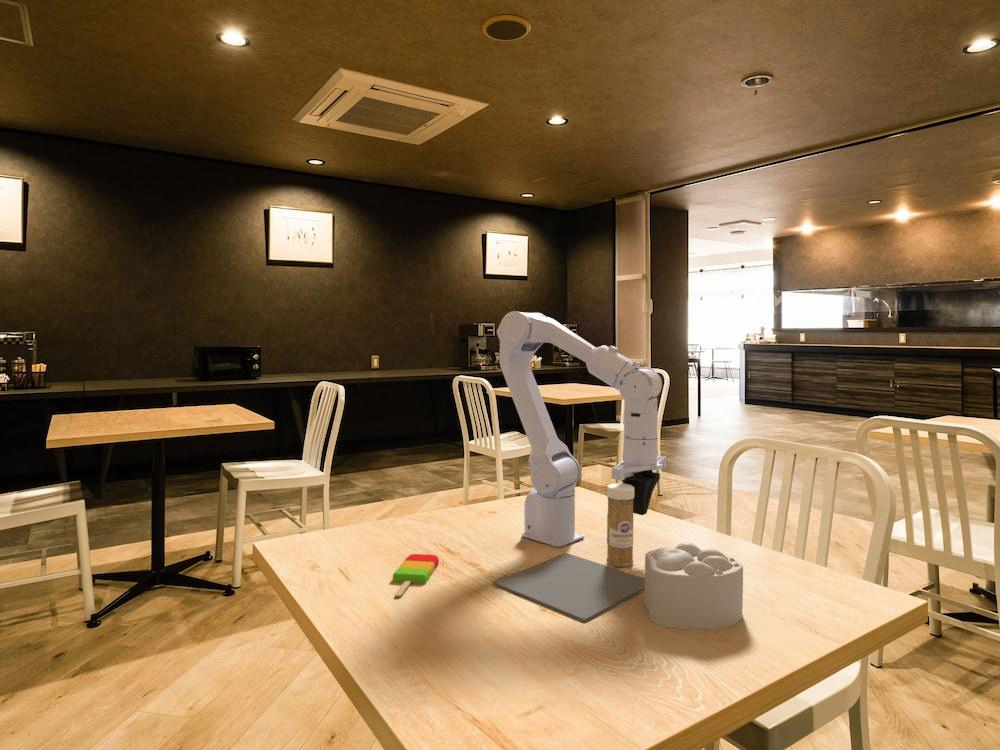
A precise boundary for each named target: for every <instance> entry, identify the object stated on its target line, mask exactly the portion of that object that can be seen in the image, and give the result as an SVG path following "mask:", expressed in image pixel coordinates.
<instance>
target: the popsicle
mask: <svg viewBox="0 0 1000 750" xmlns="http://www.w3.org/2000/svg"><path fill="white" fill-rule="evenodd" d="M439 564H440V563H439V557H438V555H435V554H423V553H422V554H421V553H411V554H409V555H408V556H407V557H405V559H404V560H403V562H402V563H401V564H400V565H399V567H398V568H397V569H396V570H395V572H394V573H393V575H392V582H393V583H402V584H401V585H400V587H399V588H398V590H397V591H396V592H395V594H394V597H395V598H400V597H402V596H403V595H404V593H405V592H406V590H407V589H408V588H409V587H410V585H411V584H423V585H424V584H427V582H428V581H429V580H430V579H431V576H432V575H433V574H434V572H435V571H436V569H437V568H438V567H439Z"/></svg>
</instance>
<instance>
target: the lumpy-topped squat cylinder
mask: <svg viewBox="0 0 1000 750" xmlns="http://www.w3.org/2000/svg"><path fill="white" fill-rule="evenodd" d="M644 561H645V562H644V578H645V590H644V605H645V606H646V607H647V609H648V617H649V618H650V620H651V621H653V622H654V623H657V624H658V625H661V626H665V627H670V628H679V629H680V628H681V629H690V628H692V629H695V630H696V629H697V630H716V629H717V628H718V629H722V627H723V628H726V626H727V627H729V626H728V625H730V626H732V624H733V625H735V624H737V623H739V622H740V621H741V620H742V619H743V608H744V606H743V603H744V602H743V600H744V599H743V595H744V566H743V564H742V563H741V562H740V561H738V560H737V559H734V558H733V557H729V556H727V555H725V554H724V553H723V552H722V551H720V550H719V549H718V550H717V549H715V548H704V549H700V547H699V546H697V545H696V544H694V543H692V542H688V541H687V542H682V543H679V544H677V545H676V546H675V548H674V547H659V548H657V549H653V550H650V551H648V552H647V553H645V556H644ZM740 619H741V620H740ZM739 620H740V621H739ZM738 621H739V622H738ZM736 622H737V623H736ZM734 623H735V624H734Z"/></svg>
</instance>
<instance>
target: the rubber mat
mask: <svg viewBox="0 0 1000 750" xmlns="http://www.w3.org/2000/svg"><path fill="white" fill-rule="evenodd" d="M492 585H494V586H497V587H499V588H501V589H503V590H504V591H508V592H510V593H513V594H515V595H518V596H520V597H523V598H525V599H527V600H530V601H532V602H534V603H537V604H540V605H542V606H544V607H547V608H549V609H552V610H554V611H557V612H559V613H561V614H562V615H563V614H564V615H566V616H569V617H570V618H573V619H576V620H579V621H581V622H582V623H586V622H588V621H590V620H592V619H593V618H596V617H597V616H599V615H601V614H604V613H605V612H607V611H609V610H610V609H612V608H613V607H616V606H617V605H620V604H621V603H623V602H625V601H626V600H629V599H630V598H632V597H634V596H636V595H638V594H640V593H642V592H645V577H643V576H639V575H636V574H633V573H630V572H628V571H624V570H620V569H619V568H618V569H617V568H614V567H613V566H612V567H611V566H607V565H605V564H602V563H599V562H595V561H592V560H590V559H586V558H583V557H580V556H577V555H574V554H572V553H568V552H565V553H561V554H559V555H556V556H554V557H552V558H549V559H547V560H545V561H541V562H539V563H537V564H535V565H532V566H529V567H527V568H525V569H522V570H519V571H516V572H515V573H512V574H510V575H509V574H508V575H506V576H504V577H502V578H499V579H496V580H494V581H492Z"/></svg>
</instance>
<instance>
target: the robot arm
mask: <svg viewBox="0 0 1000 750" xmlns="http://www.w3.org/2000/svg"><path fill="white" fill-rule="evenodd" d="M496 334H497V337H498V340H499V365H500V370H501V371H502V374H503V377H504V380H505V382H506V385H507V387H508V390H509V393H510V395H511V398H512V401H513V403H514V405H515V408H516V411H517V414H518V416H519V419H520V423H521V424H522V427H523V429H524V430H523V431H525V435H526V438H527V440H528V442H529V445H530V449H531V450H530V453H529V457H528V460H527V461H528V465H529V469H530V482H531V484H532V487H533V488H532V489H531V490H530V491H529V492H528V493H527V494H526V497H525V500H524V532H522V533H521V536H522V537H525V538H527V539H530V540H533V541H537V542H539V543H543V544H547V545H549V546H552V547H556V548H561V547H563V546H566V545H568V544H572V543H574V542H577V541H580V540H582V539H585V535H584V534H582V533H578V532H576V528H575V526H576V525H575V524H576V521H575V520H576V519H575V518H576V517H575V516H576V515H575V514H576V500H575V499H576V497H575V496H576V490H575V488H576V487H575V484H576V483H577V482H578V481H579V479H580V476H581V466H580V463H579V461H578V460H577V458H575V457H574V456H573V454H571V451H570V450H569V448H568V446H567V445H566V443H564V442H563V441H561V440H560V439H559V438H558V435H557V433H556V430H555V428H554V424H553V422H552V420H551V416H550V414H549V412H548V410H547V407H546V404H545V402H544V399H543V397H542V394H541V392H540V389H539V386H538V384H537V381H536V379H535V376H534V373H533V371H532V368H531V366H530V363H531V361H532V358H533V357H534V355H535V353H536V352H537V351H538V349H539V348H540V347H541V346H542V345H543V344H544V343H548V344H551V345H553V346H556V347H557V348H559V349H561V350H563V351H564V352H566V353H568V354H570V355H572V356H573V357H576V358H577V359H579V360H581V361H583V362H585V365H586V368H587V371H588V373H589V374H591V375H592V376H594V377H596V378H598V379H599V380H601V381H603V382H604V383H605V384H606V385H609V386H610V387H612V388H613V389H615V390H616V391H618V392H619V393H620V396H621V397H622V399H623V400H624V410H623V411H624V412H623V460H622V461H620V463H618V464H616V466H613V467H611V480H616V481H621V482H622V484H629V485H632V486H633V487H634V498H633V499H634V500H633V514H636V515H639V516H644V515H646V514H647V513H648V510H649V505H650V502H651V498H652V495H653V493H654V490H655V487H656V486H657V484H658V482H659V481H660V479H661V474H660V473H659V472H654V471H653V470H655V471H659V470H661V469H664V468H667V456H663V455H658V413H659V411H658V396H659V395H660V393H661V391H662V388H663V381H662V378H661V376H660V375H659V373H658V372H656V371H655V370H654V369H653V368H652V367H648V366H647V367H646V366H645V367H641V362H639V361H637V360H631V359H629V358H628V357H626V356H624V355H622V354H621V353H619V352H618V351H619V348H618V347H617V346H614V345H610V346H607V345H601V346H597V347H596V346H594V345H593V344H592V343H590V342H588V341H586V339H584V338H582V336H579V335H578V334H576V333H575V332H573V331H571V329H569V328H568V327H566V326H564V325H562V324H561V323H560V322H558V321H557V320H555V319H554V318H551V317H549V316H546V315H544V314H543V313H541V312H521V311H516V310H512V311H509V312H507V313H506V314H505V315H504V316H503V318H502V319H501V322H500V323H499V325H498V328H497V330H496Z"/></svg>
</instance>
